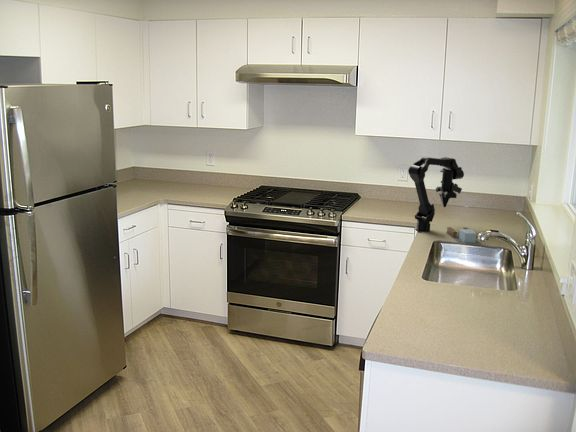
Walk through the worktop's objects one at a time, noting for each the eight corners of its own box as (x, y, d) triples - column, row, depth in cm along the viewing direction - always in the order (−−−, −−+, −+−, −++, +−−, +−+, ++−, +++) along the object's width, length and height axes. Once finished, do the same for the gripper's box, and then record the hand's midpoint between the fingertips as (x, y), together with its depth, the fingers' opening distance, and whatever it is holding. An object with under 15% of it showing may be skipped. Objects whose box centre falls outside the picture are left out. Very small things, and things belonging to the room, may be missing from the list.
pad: (459, 244, 310) (459, 243, 310) (451, 238, 321) (451, 237, 321) (482, 244, 310) (482, 244, 310) (473, 238, 322) (473, 237, 322)
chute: (451, 238, 321) (452, 232, 320) (445, 233, 331) (446, 227, 330) (473, 238, 322) (474, 232, 321) (467, 233, 332) (467, 227, 331)
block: (464, 242, 312) (465, 233, 311) (458, 238, 320) (459, 229, 319) (475, 242, 313) (476, 233, 311) (469, 238, 320) (470, 229, 319)
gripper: (467, 183, 328) (464, 211, 331) (455, 177, 346) (452, 203, 349) (447, 183, 327) (444, 210, 330) (436, 176, 345) (434, 203, 349)
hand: (444, 207), depth 340 cm, fingers closed
